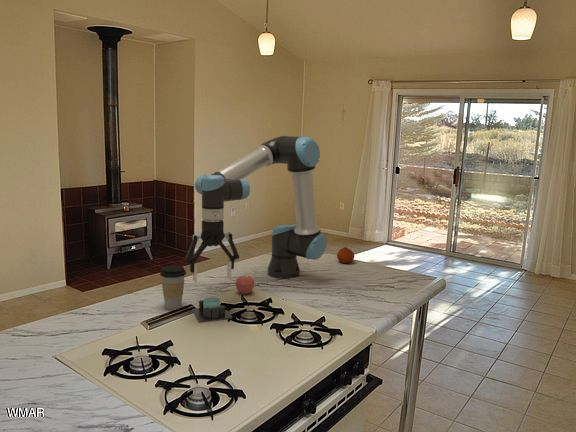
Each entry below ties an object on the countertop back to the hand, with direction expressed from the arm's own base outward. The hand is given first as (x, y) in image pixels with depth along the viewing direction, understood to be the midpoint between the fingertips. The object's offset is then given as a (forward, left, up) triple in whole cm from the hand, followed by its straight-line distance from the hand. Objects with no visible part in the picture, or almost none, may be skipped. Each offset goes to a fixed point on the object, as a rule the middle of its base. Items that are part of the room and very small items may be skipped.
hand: (212, 279), depth 171 cm
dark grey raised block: (0, 0, -13) cm, 13 cm away
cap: (0, 0, -13) cm, 13 cm away
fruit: (-47, +81, -13) cm, 95 cm away
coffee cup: (-11, -12, -13) cm, 21 cm away
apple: (-18, +18, -13) cm, 29 cm away
